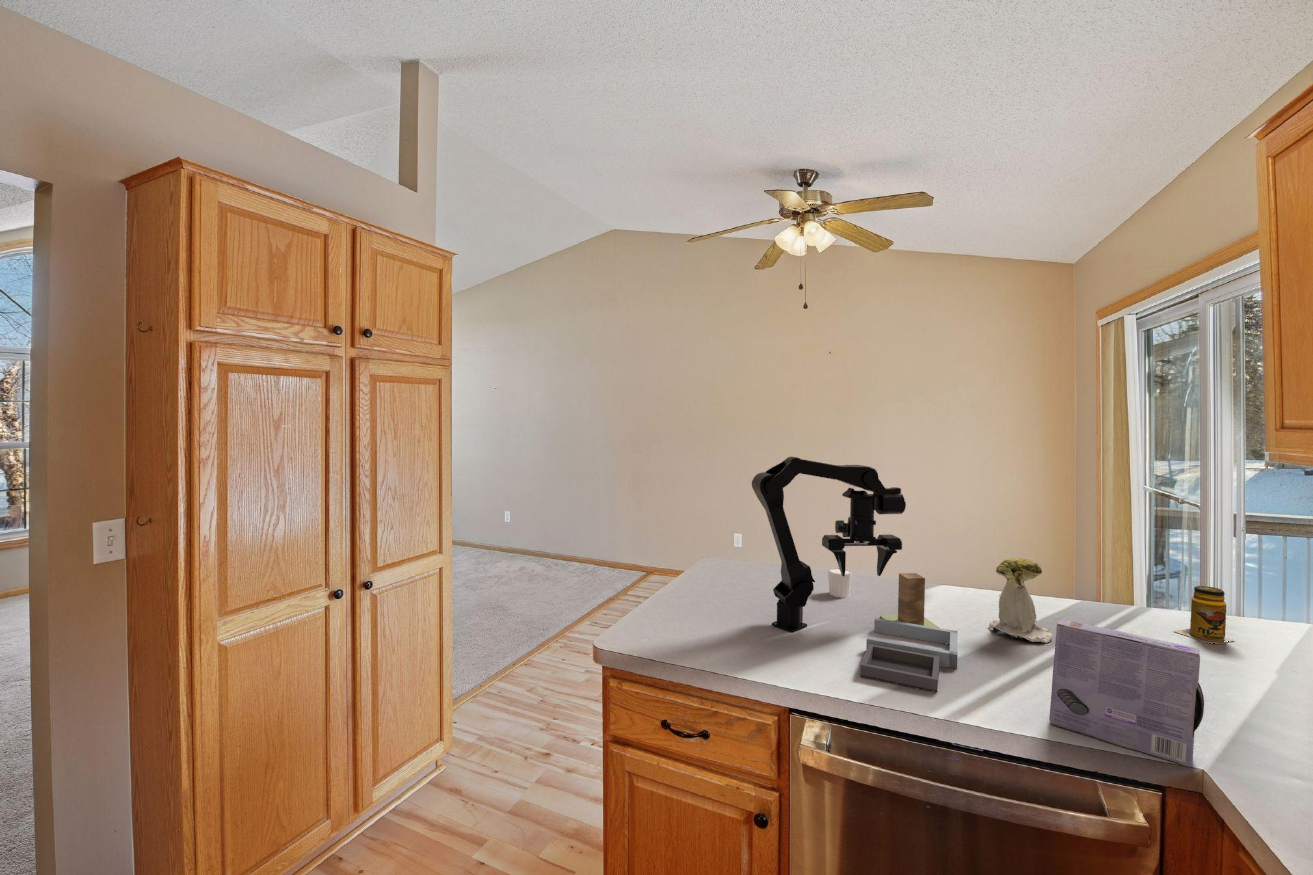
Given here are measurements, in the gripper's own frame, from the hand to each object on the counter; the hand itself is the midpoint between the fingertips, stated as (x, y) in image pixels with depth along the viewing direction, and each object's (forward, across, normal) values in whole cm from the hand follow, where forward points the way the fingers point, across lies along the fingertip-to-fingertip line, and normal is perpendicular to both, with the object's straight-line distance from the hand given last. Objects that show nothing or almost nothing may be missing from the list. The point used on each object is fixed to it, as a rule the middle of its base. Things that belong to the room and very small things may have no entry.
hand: (860, 575), depth 147 cm
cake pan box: (+12, -22, +54) cm, 60 cm away
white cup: (+12, -3, -22) cm, 26 cm away
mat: (+12, -12, +2) cm, 17 cm away
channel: (+12, -6, +16) cm, 21 cm away
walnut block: (+12, -12, +2) cm, 17 cm away
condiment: (+12, -79, +12) cm, 81 cm away
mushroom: (+12, -36, +9) cm, 39 cm away
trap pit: (+12, +3, +28) cm, 31 cm away
